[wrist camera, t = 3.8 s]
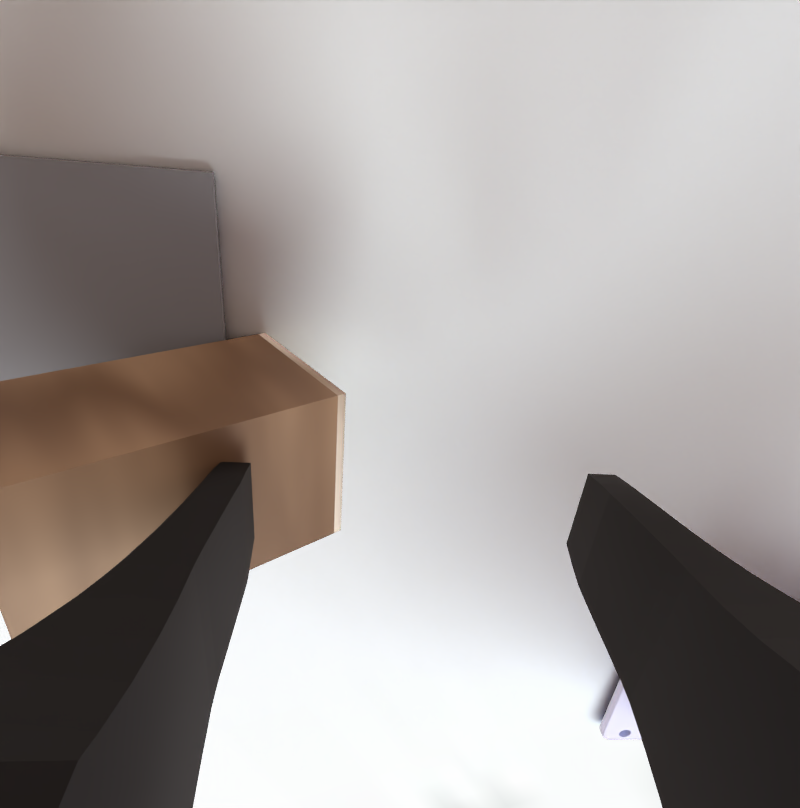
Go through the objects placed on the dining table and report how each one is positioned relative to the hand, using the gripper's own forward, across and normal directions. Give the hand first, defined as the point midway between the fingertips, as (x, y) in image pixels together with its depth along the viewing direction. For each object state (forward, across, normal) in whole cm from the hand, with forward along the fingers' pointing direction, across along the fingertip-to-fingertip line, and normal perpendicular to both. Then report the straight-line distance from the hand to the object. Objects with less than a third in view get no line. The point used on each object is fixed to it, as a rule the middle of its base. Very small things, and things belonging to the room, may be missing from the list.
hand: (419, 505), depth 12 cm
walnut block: (+3, +3, 0) cm, 4 cm away
